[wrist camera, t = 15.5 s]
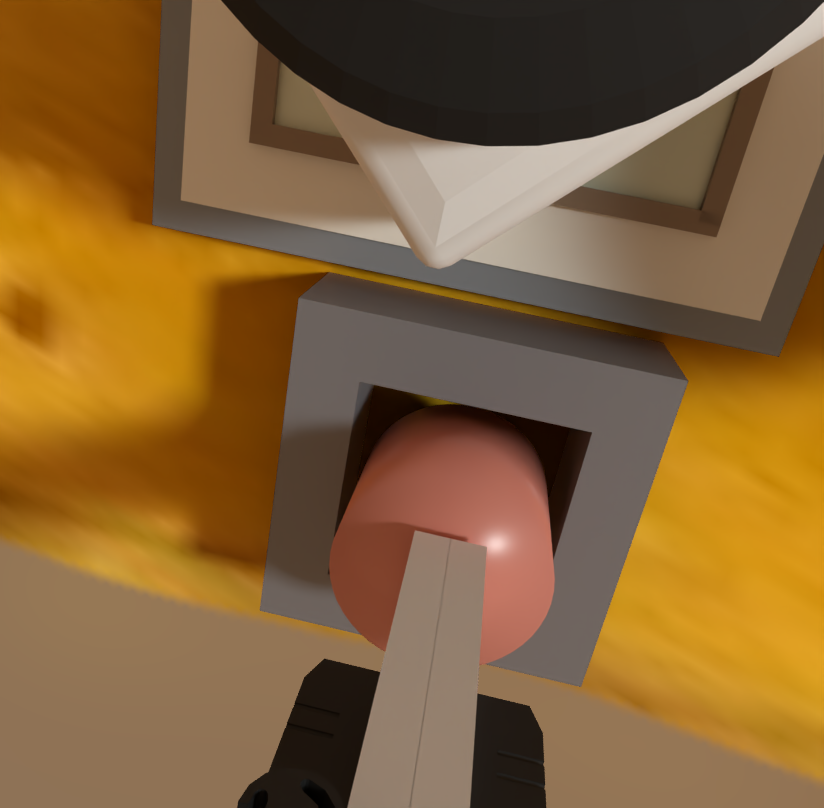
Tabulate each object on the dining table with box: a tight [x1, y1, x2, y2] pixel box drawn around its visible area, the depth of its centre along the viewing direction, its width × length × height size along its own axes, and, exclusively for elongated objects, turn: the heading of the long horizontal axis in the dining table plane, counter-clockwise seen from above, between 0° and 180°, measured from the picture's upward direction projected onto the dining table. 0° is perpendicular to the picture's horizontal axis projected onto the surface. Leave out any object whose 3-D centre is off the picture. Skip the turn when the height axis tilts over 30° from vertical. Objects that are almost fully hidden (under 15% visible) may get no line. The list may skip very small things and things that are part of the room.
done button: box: [329, 404, 555, 665], centre depth 17 cm, size 5×5×4 cm
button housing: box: [260, 272, 688, 687], centre depth 20 cm, size 9×9×3 cm
